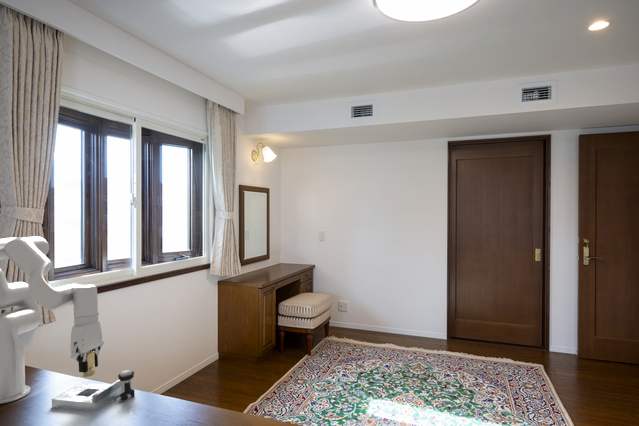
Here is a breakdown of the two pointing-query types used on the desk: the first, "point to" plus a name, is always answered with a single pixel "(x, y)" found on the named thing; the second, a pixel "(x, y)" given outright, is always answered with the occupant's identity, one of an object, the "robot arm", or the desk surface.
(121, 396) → the push button
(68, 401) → the jig
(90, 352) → the gold domed cylinder
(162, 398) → the desk surface
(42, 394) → the desk surface
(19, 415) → the desk surface
